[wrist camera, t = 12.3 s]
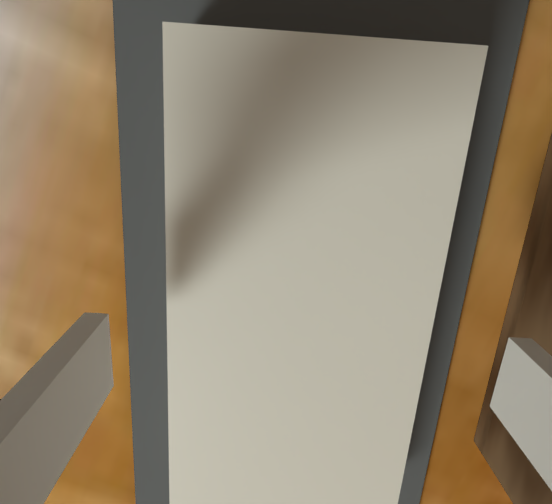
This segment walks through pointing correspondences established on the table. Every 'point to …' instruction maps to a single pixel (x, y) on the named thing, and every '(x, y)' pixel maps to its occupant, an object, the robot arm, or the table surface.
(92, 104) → the table surface
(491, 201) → the table surface
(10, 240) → the table surface
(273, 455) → the lid
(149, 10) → the rubber mat
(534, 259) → the walnut box
